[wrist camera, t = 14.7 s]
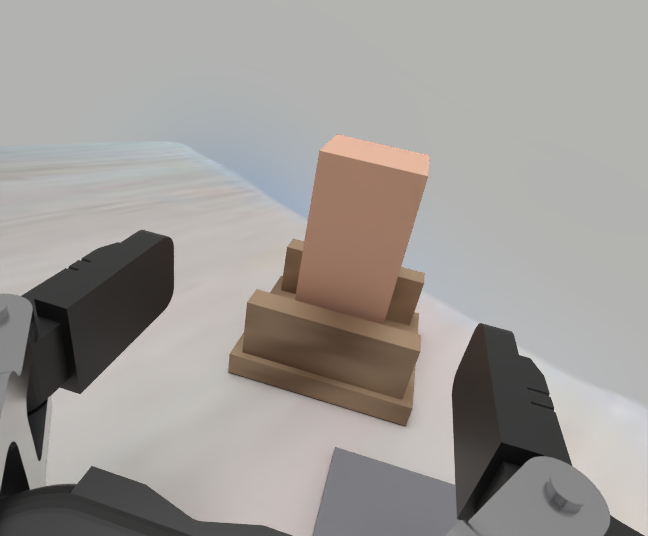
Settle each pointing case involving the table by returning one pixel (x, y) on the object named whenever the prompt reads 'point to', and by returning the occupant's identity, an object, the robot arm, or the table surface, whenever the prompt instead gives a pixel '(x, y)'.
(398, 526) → the rubber mat
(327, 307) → the tall salmon pink block
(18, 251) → the table surface
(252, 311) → the slotted rack
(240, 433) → the table surface
